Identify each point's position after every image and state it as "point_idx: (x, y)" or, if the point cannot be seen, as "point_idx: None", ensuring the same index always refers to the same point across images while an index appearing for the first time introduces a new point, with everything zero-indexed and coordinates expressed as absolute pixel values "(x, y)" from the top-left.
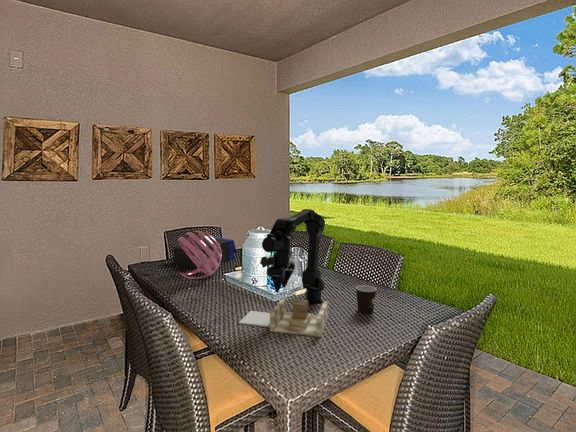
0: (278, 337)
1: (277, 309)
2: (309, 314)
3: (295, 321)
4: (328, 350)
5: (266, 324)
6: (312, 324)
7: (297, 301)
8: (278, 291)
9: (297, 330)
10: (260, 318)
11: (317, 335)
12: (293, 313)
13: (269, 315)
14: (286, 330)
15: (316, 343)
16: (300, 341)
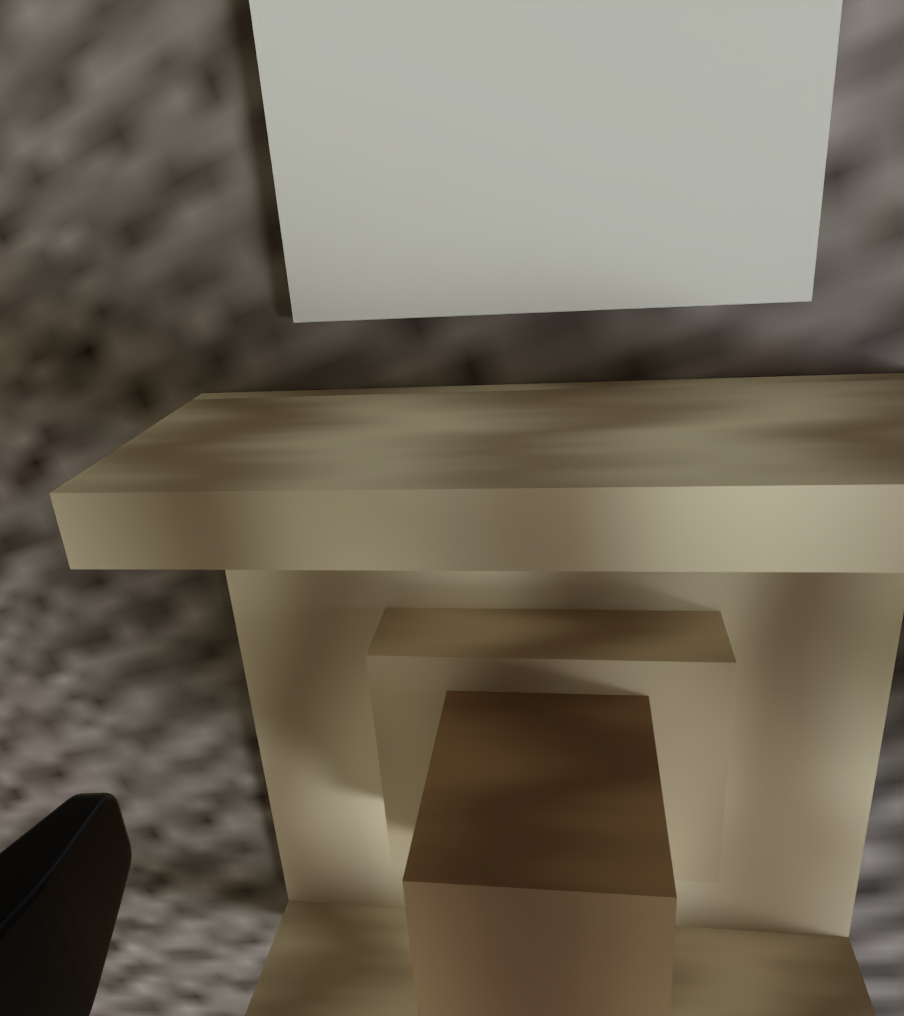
0: None
1: (282, 568)
2: None
3: (377, 735)
4: (100, 981)
5: (322, 283)
6: None
7: (553, 937)
8: (102, 894)
9: (314, 722)
10: (518, 67)
11: (290, 908)
12: (434, 755)
13: (700, 187)
14: (259, 607)
15: (166, 897)
16: (132, 771)
